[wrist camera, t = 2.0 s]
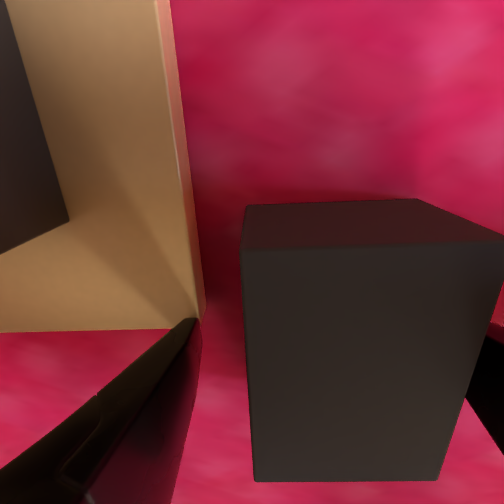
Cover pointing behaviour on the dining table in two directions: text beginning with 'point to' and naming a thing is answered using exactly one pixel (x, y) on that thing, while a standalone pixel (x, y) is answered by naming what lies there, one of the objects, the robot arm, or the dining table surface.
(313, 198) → the dining table surface
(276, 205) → the dark rectangular block
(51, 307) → the backing board
